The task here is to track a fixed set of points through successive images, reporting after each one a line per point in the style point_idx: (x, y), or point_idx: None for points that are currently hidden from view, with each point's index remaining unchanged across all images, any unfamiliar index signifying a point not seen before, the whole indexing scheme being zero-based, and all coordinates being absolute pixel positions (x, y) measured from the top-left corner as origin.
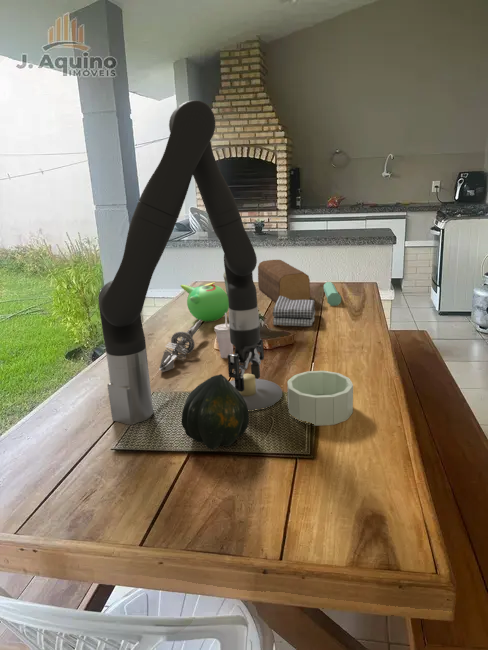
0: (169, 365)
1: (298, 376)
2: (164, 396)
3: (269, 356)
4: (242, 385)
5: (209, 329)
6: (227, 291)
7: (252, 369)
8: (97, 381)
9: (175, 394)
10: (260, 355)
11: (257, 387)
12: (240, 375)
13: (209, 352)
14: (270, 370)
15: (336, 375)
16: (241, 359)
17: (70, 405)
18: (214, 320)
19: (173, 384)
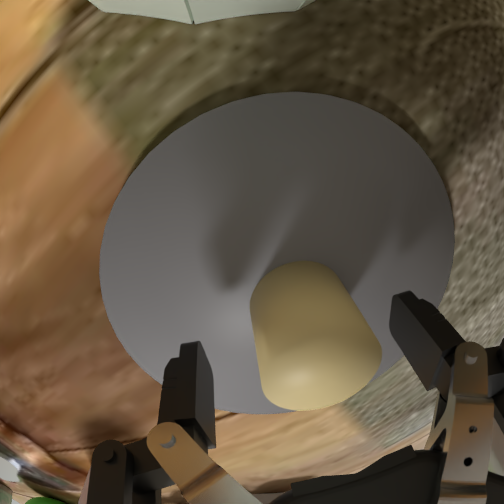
0: (266, 501)
1: None
2: (401, 427)
3: (4, 401)
4: (427, 311)
5: (75, 500)
6: (10, 499)
7: (211, 414)
8: None
9: (384, 426)
10: (130, 485)
11: (211, 304)
12: (484, 358)
13: None
14: (36, 360)
15: None
16: (492, 474)
17: None
18: (56, 501)
19: (333, 459)
